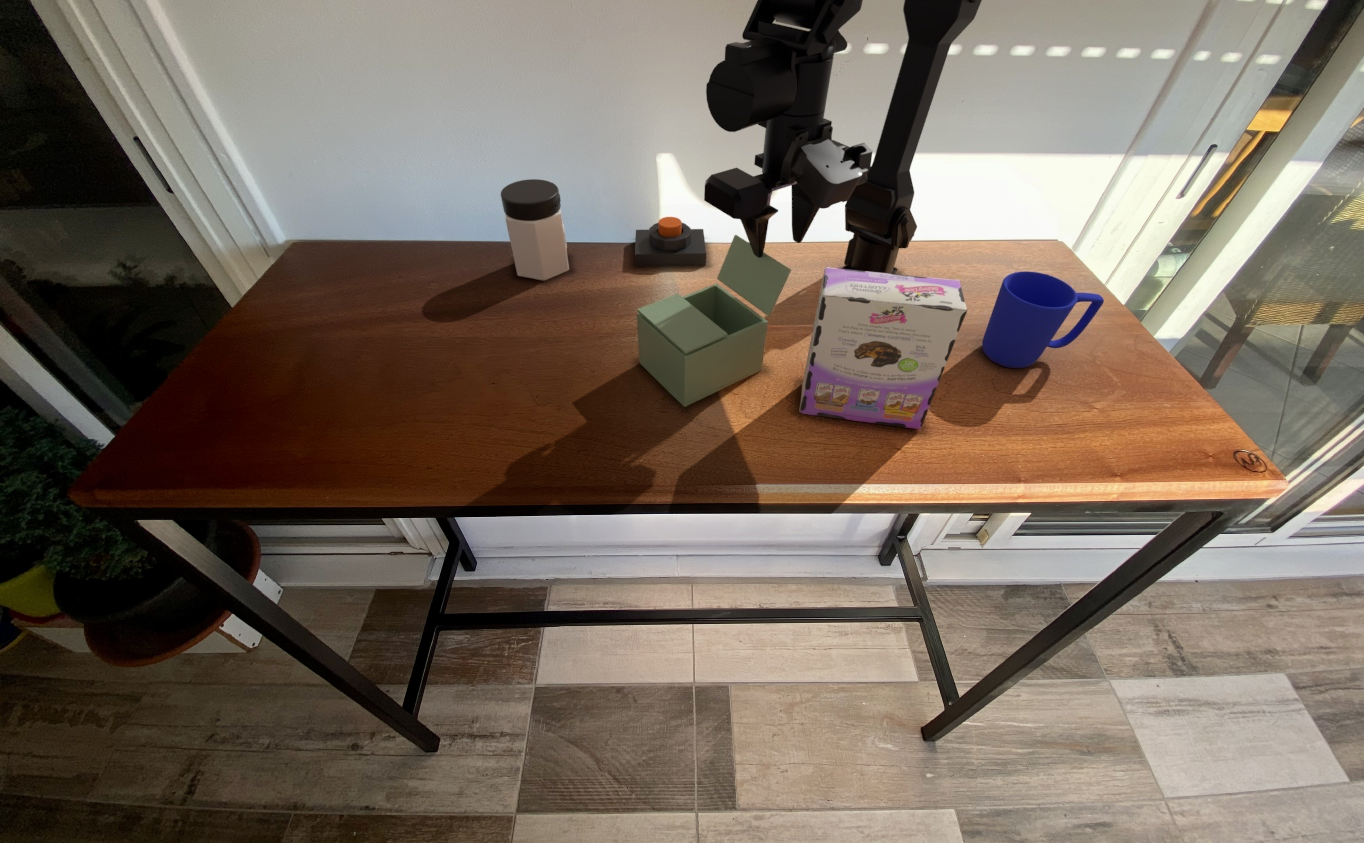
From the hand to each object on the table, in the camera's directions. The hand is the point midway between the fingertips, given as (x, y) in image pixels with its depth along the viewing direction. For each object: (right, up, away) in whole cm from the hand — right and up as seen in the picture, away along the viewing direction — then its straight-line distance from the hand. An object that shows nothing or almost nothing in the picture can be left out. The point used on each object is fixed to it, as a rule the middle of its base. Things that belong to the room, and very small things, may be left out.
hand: (777, 248), depth 71 cm
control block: (-13, +6, +25) cm, 29 cm away
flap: (-3, -3, 0) cm, 4 cm away
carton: (-9, -14, +5) cm, 17 cm away
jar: (-33, +3, +22) cm, 40 cm away
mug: (+33, -12, +7) cm, 36 cm away
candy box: (+10, -19, 0) cm, 21 cm away
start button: (-13, +9, +22) cm, 27 cm away
